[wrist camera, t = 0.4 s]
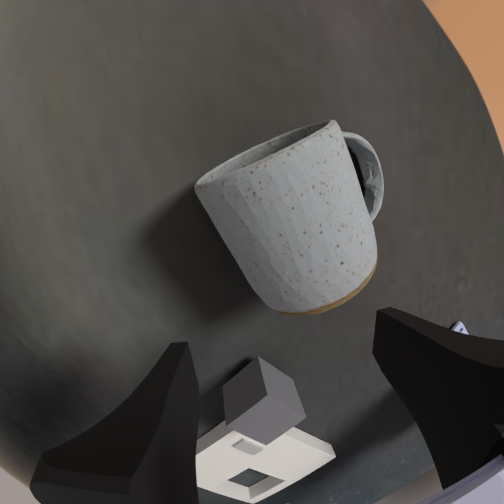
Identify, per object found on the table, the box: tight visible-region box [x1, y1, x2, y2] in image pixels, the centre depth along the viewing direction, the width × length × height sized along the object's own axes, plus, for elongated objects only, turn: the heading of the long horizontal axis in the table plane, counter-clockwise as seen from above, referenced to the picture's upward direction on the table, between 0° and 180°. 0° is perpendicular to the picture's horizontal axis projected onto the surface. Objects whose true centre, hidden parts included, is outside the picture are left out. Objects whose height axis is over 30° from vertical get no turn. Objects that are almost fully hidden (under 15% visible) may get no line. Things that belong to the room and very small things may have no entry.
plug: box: [222, 356, 306, 445], centre depth 21 cm, size 4×4×5 cm
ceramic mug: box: [194, 120, 384, 316], centre depth 16 cm, size 11×8×8 cm
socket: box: [196, 420, 336, 504], centre depth 25 cm, size 12×12×2 cm
